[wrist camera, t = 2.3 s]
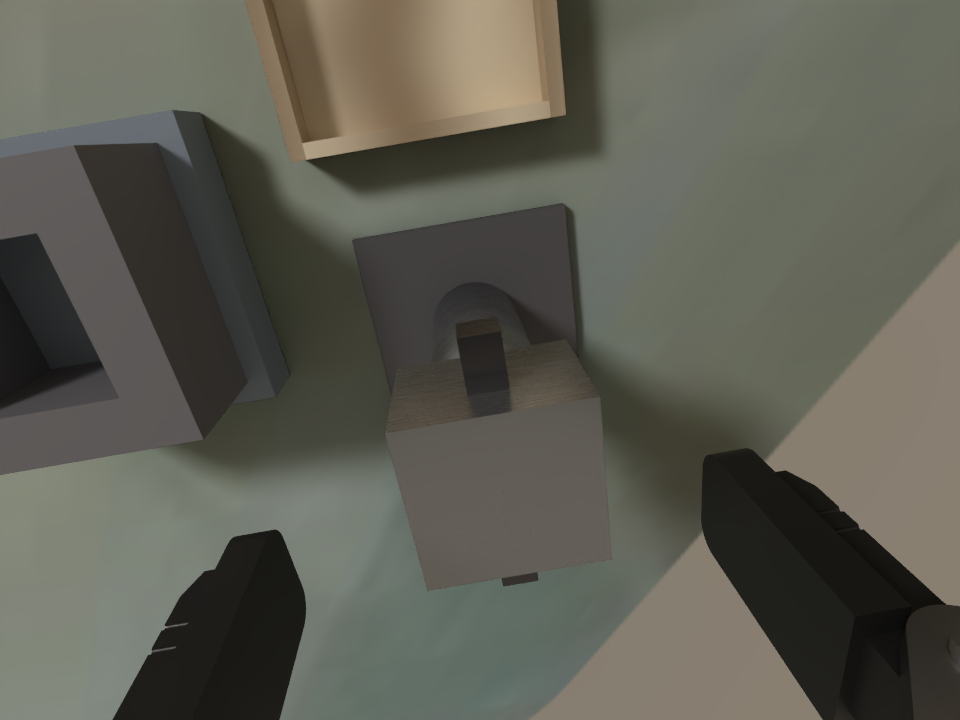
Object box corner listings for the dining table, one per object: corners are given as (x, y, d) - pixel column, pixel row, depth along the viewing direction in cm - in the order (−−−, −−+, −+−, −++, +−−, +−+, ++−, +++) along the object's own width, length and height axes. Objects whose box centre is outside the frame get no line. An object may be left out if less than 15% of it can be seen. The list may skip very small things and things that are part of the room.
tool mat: (562, 203, 20) (564, 204, 19) (579, 389, 23) (581, 393, 22) (353, 239, 20) (352, 241, 19) (399, 420, 23) (399, 424, 22)
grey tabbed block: (516, 229, 19) (596, 334, 9) (536, 388, 22) (614, 600, 12) (406, 248, 19) (368, 373, 9) (439, 405, 22) (438, 630, 12)
